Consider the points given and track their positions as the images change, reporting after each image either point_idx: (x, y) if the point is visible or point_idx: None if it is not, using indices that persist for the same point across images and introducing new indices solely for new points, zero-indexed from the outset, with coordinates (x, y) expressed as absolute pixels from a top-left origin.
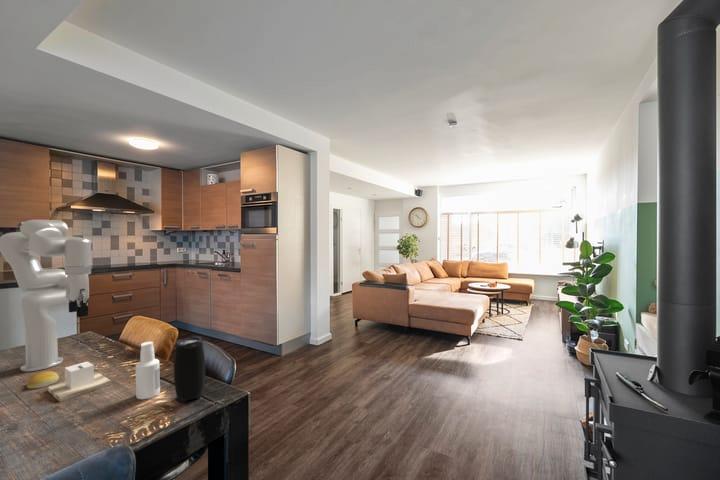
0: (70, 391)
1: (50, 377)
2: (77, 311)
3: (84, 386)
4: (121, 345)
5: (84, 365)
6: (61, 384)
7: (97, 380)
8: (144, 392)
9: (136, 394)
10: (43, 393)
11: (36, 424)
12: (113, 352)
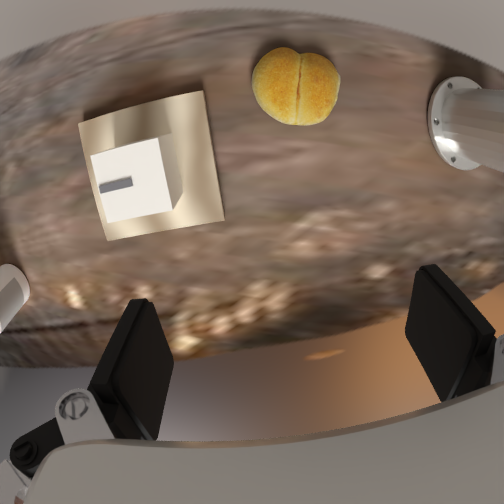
0: (101, 145)
1: (265, 99)
2: (114, 341)
3: None
4: None
5: (127, 197)
6: (186, 123)
7: None
8: None
9: (3, 267)
10: (190, 81)
11: (10, 95)
12: (407, 281)
